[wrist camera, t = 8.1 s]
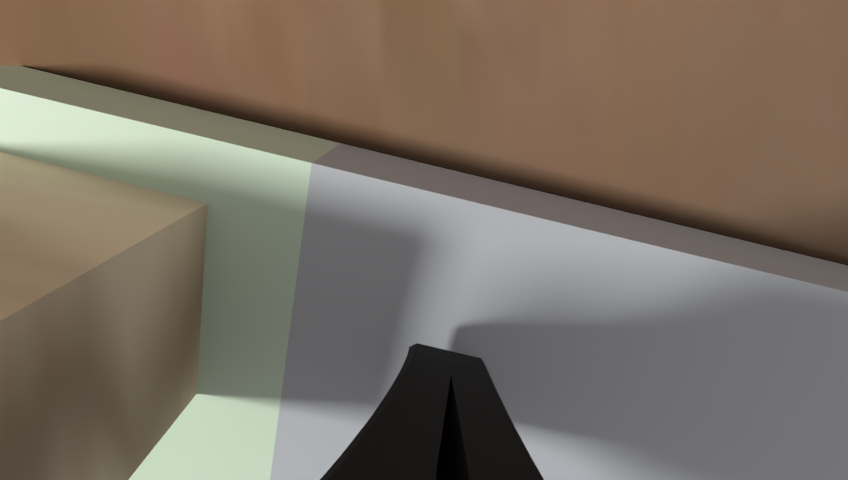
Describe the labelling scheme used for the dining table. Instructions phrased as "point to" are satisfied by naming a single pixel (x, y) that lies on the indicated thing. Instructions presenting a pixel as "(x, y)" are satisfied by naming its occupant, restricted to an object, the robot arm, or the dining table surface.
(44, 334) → the maple block
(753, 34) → the dining table surface
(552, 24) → the dining table surface
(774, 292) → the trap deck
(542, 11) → the dining table surface
